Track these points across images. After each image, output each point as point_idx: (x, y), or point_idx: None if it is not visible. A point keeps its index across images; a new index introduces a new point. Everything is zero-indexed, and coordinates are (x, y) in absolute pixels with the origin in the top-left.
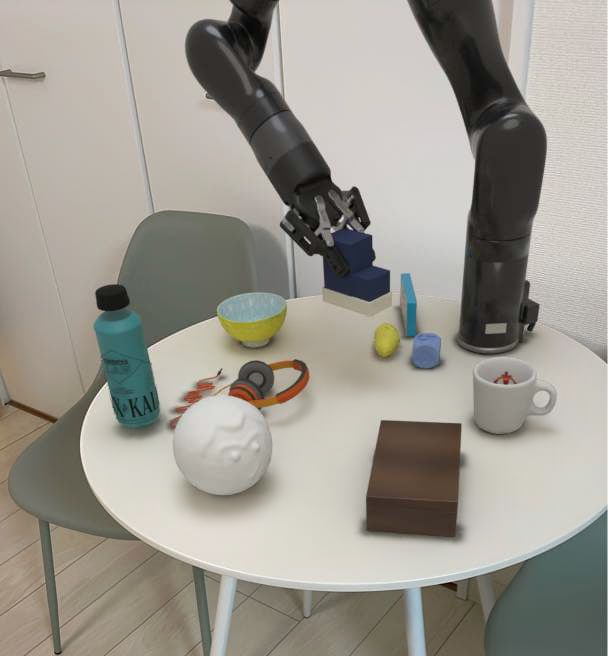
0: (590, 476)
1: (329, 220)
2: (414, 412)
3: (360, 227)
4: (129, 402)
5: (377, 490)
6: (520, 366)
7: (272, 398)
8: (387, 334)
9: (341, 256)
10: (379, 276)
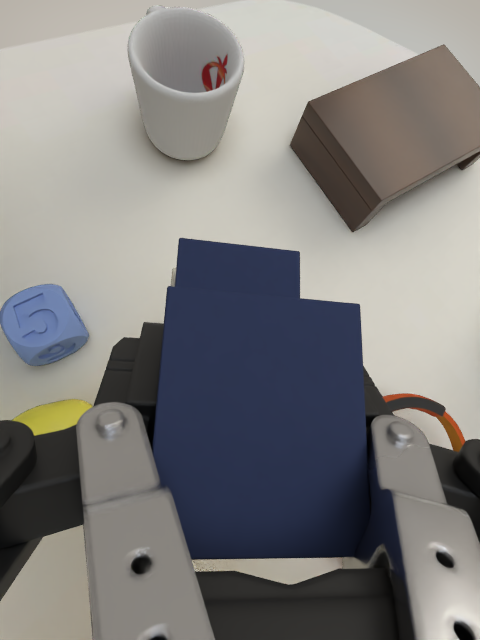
0: (223, 12)
1: (344, 579)
2: None
3: (106, 425)
4: None
5: None
6: (140, 46)
7: (449, 416)
8: (53, 422)
9: None
10: (244, 245)
